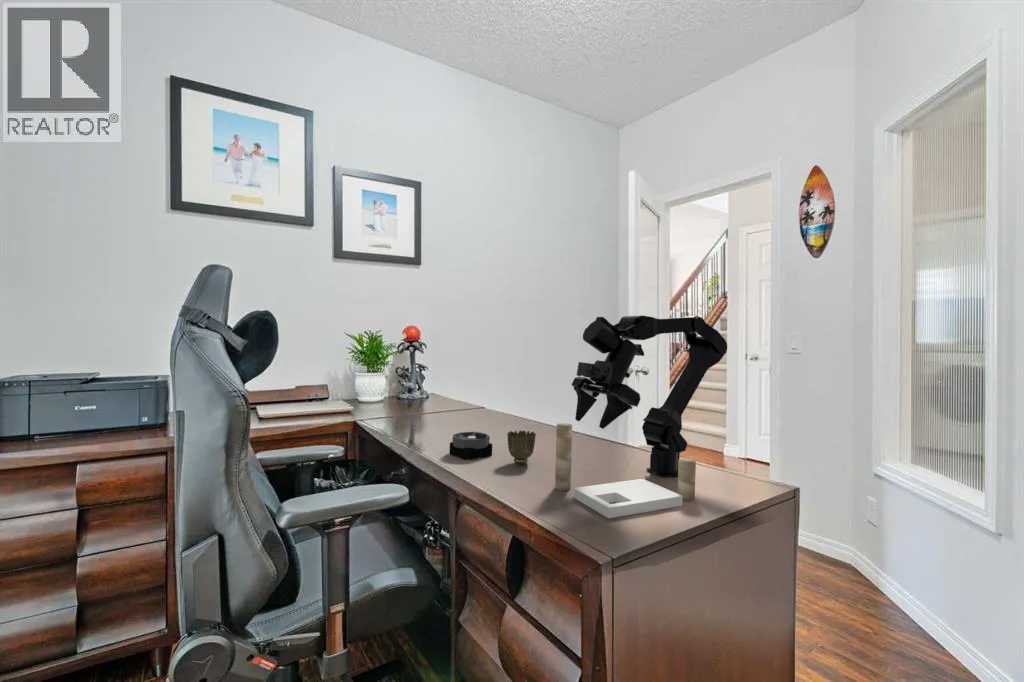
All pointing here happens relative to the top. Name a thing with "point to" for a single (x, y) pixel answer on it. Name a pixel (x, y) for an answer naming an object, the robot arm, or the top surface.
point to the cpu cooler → (470, 445)
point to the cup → (521, 445)
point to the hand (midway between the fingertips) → (588, 424)
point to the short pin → (686, 479)
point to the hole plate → (627, 497)
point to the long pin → (563, 457)
